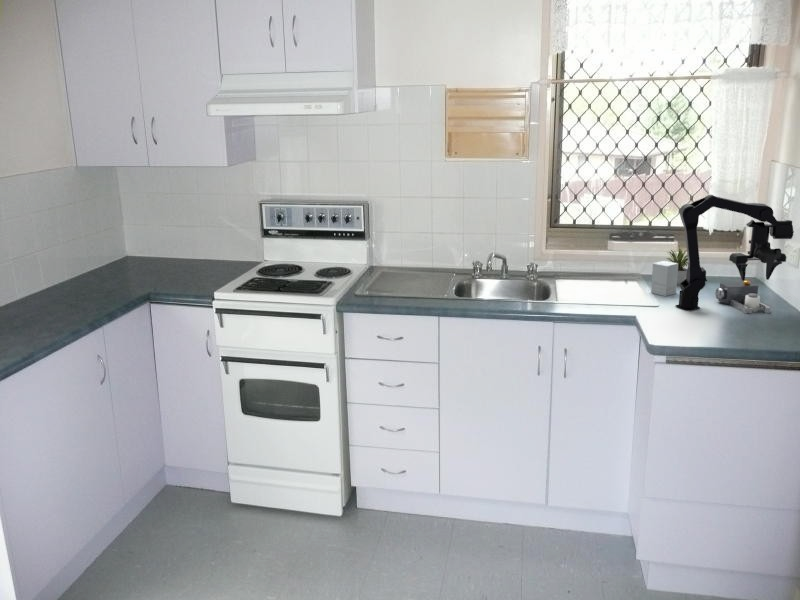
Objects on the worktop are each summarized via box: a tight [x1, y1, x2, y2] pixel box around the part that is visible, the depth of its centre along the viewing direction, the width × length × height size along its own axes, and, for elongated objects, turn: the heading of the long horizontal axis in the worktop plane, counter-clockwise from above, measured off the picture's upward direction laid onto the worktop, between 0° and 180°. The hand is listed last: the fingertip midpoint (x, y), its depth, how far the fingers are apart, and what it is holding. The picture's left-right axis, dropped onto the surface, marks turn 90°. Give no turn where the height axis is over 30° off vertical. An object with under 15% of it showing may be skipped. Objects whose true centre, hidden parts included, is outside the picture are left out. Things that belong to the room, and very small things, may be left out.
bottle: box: [743, 293, 761, 313], centre depth 267 cm, size 5×5×6 cm
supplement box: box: [650, 260, 678, 297], centre depth 291 cm, size 7×7×13 cm
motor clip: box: [714, 280, 771, 315], centre depth 271 cm, size 14×18×8 cm
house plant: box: [666, 246, 688, 286], centre depth 303 cm, size 14×14×16 cm
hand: (755, 280), depth 265 cm, fingers open, 9 cm apart
